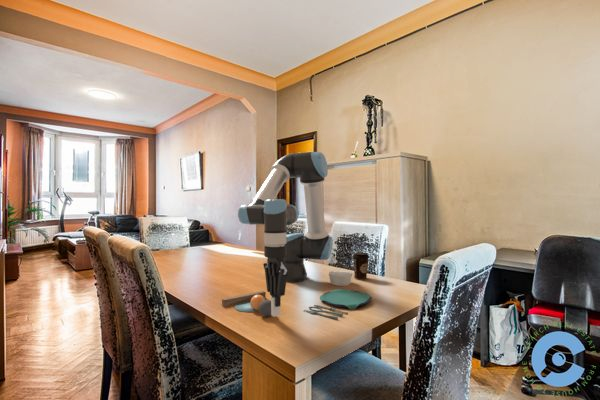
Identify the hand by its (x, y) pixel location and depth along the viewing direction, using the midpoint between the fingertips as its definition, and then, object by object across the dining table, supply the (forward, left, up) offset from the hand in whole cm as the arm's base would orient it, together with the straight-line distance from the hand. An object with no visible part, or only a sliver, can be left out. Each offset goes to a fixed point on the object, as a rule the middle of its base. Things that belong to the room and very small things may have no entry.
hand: (275, 315), depth 103 cm
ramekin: (-39, -37, -2) cm, 54 cm away
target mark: (+6, -17, -2) cm, 18 cm away
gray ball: (+2, -5, +1) cm, 6 cm away
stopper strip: (+8, -23, -2) cm, 24 cm away
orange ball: (+4, -12, +1) cm, 13 cm away
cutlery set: (-27, -10, -3) cm, 29 cm away
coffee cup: (-53, -43, -2) cm, 68 cm away
